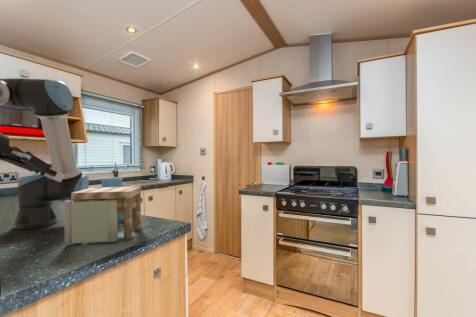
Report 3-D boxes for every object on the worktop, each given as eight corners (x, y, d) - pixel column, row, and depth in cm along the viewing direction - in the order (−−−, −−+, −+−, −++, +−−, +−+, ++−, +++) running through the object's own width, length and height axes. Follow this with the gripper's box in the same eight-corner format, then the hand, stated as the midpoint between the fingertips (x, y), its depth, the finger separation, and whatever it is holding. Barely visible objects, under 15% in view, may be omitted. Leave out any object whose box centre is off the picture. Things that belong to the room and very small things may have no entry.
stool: (72, 243, 83) (71, 193, 83) (92, 230, 97) (91, 187, 97) (131, 240, 85) (130, 191, 85) (142, 228, 99) (141, 186, 99)
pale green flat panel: (62, 245, 79) (61, 202, 79) (68, 242, 82) (67, 200, 82) (115, 243, 81) (114, 200, 81) (119, 240, 84) (118, 198, 84)
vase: (100, 220, 113) (99, 179, 113) (117, 216, 119) (116, 177, 119) (108, 222, 108) (107, 179, 108) (124, 218, 115) (124, 178, 114)
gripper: (-46, 151, 59) (41, 186, 79) (-12, 154, 56) (70, 190, 76) (-26, 127, 63) (53, 167, 83) (7, 129, 59) (81, 169, 79)
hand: (61, 178), depth 79 cm, fingers closed
